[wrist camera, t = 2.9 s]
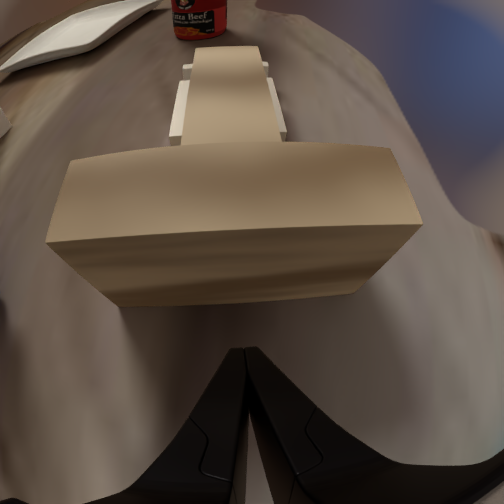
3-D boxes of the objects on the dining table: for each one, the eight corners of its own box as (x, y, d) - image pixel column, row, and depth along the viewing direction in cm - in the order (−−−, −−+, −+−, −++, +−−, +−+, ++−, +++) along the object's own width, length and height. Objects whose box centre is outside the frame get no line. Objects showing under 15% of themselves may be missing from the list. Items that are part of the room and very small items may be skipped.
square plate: (169, 8, 43) (168, -7, 39) (94, 62, 30) (88, 41, 27) (75, 24, 44) (72, 12, 40) (-1, 84, 32) (-7, 70, 28)
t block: (353, 293, 17) (423, 223, 10) (118, 306, 16) (45, 242, 9) (310, 133, 23) (330, 52, 16) (143, 139, 22) (122, 58, 15)
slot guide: (282, 156, 21) (286, 131, 19) (174, 160, 21) (169, 136, 19) (265, 81, 26) (267, 61, 24) (185, 84, 26) (183, 64, 24)
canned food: (164, 39, 32) (157, -24, 22) (192, 23, 36) (190, -33, 26) (210, 43, 31) (208, -27, 21) (235, 27, 35) (237, -33, 25)
